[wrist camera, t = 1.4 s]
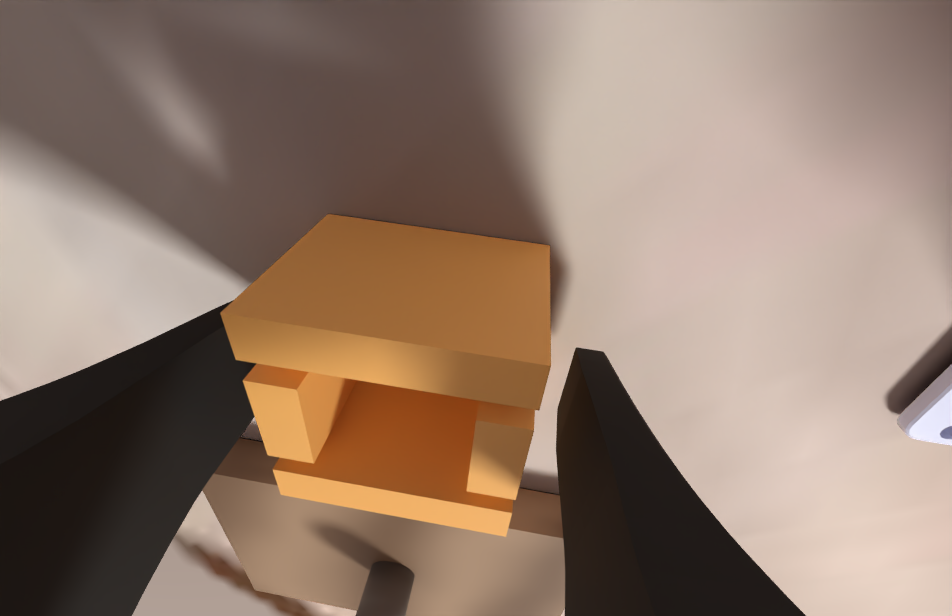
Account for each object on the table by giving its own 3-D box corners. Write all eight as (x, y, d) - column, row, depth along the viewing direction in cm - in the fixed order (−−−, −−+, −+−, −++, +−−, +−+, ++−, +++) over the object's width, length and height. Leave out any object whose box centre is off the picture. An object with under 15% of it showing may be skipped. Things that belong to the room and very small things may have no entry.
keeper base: (594, 501, 15) (613, 704, 11) (543, 611, 21) (542, 771, 16) (219, 434, 16) (93, 596, 11) (271, 557, 22) (201, 696, 17)
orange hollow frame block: (549, 245, 10) (551, 366, 6) (516, 401, 13) (505, 537, 9) (328, 213, 10) (219, 312, 7) (347, 373, 13) (280, 494, 10)
